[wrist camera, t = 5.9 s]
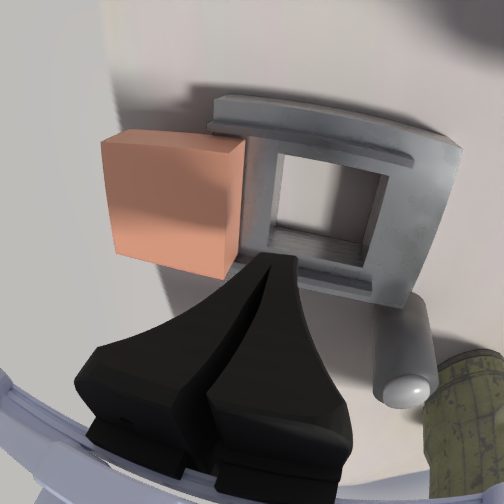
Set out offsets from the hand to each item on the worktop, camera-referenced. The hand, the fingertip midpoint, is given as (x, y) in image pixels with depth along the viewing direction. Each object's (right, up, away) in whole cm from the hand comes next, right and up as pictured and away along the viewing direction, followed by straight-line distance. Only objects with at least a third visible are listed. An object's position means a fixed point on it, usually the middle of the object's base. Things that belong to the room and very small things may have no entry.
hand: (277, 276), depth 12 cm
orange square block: (-5, +4, +5) cm, 8 cm away
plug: (+9, -3, +10) cm, 14 cm away
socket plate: (+3, +4, +7) cm, 8 cm away
